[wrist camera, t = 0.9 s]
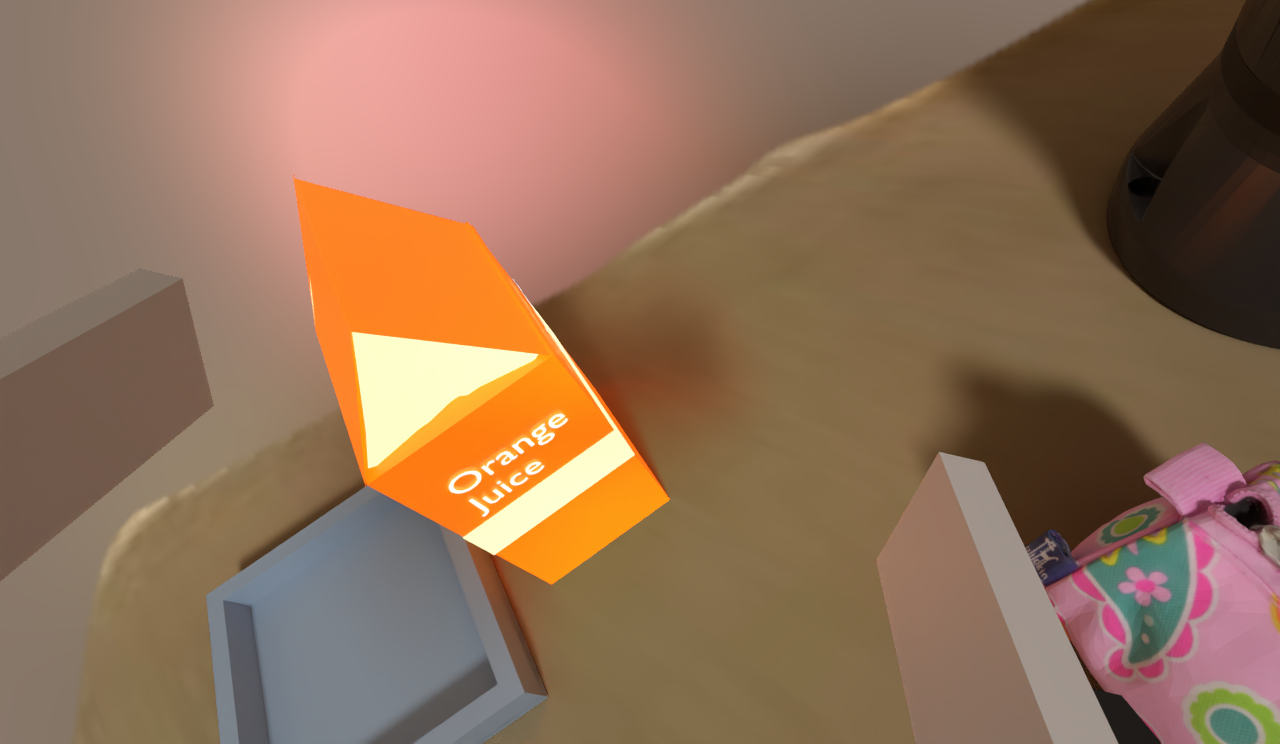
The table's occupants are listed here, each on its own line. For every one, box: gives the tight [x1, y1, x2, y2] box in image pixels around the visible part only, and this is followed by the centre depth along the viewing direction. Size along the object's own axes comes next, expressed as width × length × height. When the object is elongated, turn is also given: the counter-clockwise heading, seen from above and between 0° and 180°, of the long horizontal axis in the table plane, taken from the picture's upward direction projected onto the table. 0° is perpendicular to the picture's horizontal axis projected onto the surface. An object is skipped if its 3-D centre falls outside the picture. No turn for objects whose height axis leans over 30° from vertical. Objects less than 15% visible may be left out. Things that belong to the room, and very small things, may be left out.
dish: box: [206, 485, 548, 744], centre depth 33 cm, size 15×15×2 cm
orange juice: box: [293, 176, 670, 584], centre depth 27 cm, size 8×9×20 cm
